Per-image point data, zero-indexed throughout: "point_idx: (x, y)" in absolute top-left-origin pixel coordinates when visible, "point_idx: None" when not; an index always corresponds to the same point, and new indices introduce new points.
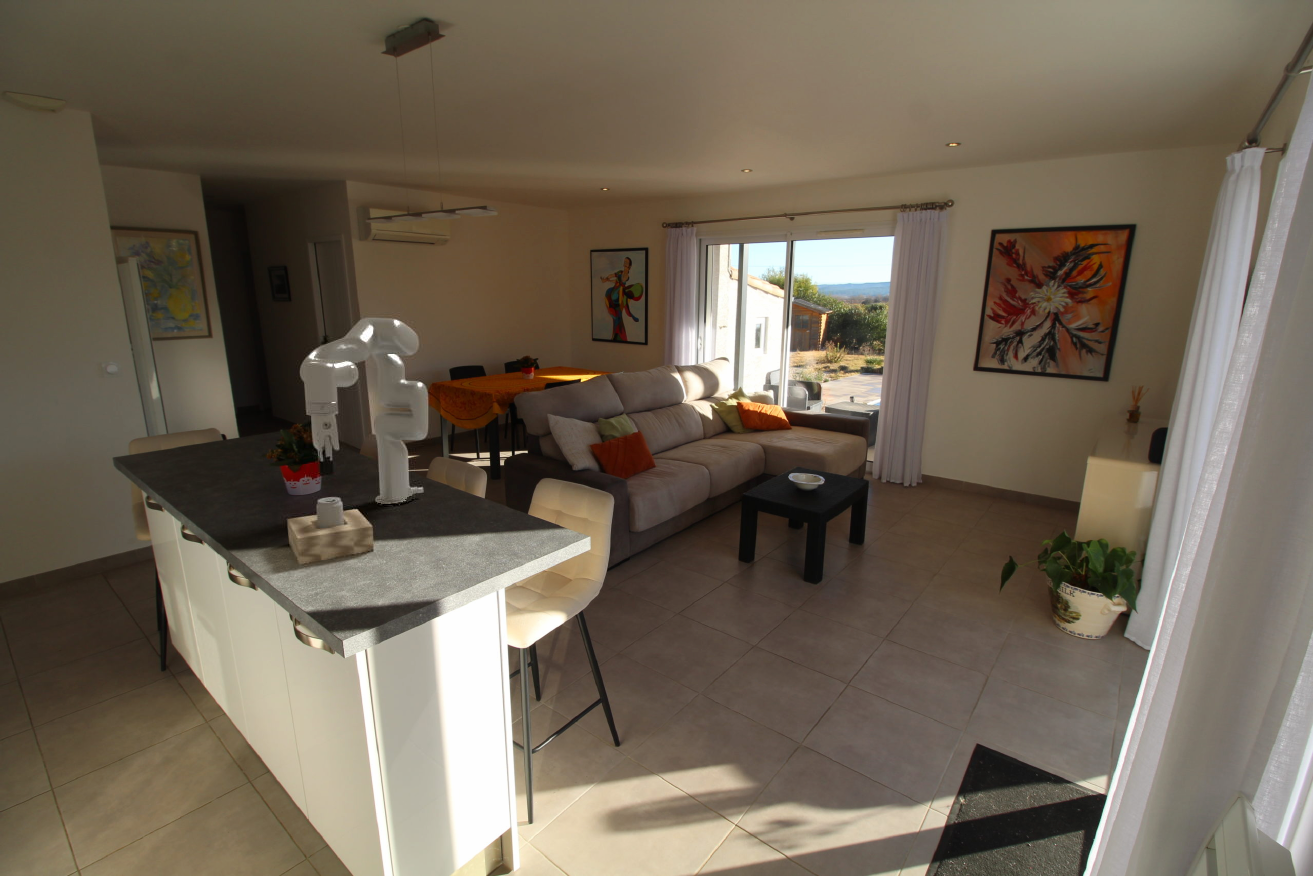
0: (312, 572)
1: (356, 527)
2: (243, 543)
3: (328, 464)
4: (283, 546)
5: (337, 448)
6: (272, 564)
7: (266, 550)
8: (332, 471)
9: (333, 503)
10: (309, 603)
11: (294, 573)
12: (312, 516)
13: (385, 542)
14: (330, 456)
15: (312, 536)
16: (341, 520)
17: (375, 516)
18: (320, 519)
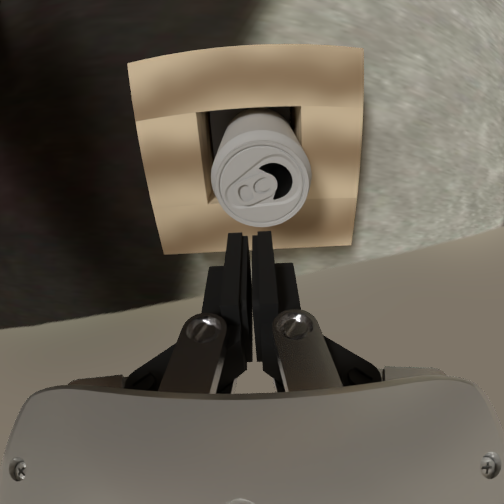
0: (390, 195)
1: (350, 93)
2: (148, 286)
3: (298, 308)
4: None
5: (483, 396)
6: (300, 251)
7: (206, 256)
8: (270, 243)
9: (305, 174)
10: (488, 220)
11: (374, 223)
12: (160, 196)
13: (285, 8)
14: (416, 369)
15: (354, 213)
16: (287, 127)
17: (47, 29)
18: (283, 193)
